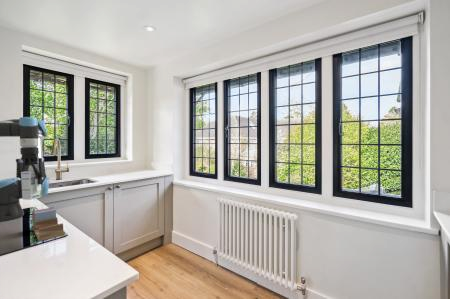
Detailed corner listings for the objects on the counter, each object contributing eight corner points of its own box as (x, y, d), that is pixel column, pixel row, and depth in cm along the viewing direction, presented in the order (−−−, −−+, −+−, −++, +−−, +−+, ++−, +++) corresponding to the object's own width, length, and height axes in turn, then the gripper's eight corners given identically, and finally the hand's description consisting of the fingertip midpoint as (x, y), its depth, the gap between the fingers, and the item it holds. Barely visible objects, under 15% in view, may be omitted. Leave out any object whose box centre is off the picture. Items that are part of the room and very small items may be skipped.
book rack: (32, 229, 121) (31, 211, 121) (55, 224, 128) (54, 207, 128) (38, 241, 105) (37, 220, 105) (65, 235, 113) (64, 215, 112)
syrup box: (31, 199, 119) (30, 171, 119) (21, 199, 121) (20, 171, 120) (41, 197, 125) (40, 170, 125) (32, 197, 126) (31, 170, 126)
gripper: (4, 147, 119) (7, 192, 119) (42, 146, 118) (44, 191, 119) (18, 147, 126) (20, 189, 127) (53, 146, 126) (55, 188, 126)
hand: (31, 190), depth 123 cm, fingers closed on syrup box, 6 cm apart
